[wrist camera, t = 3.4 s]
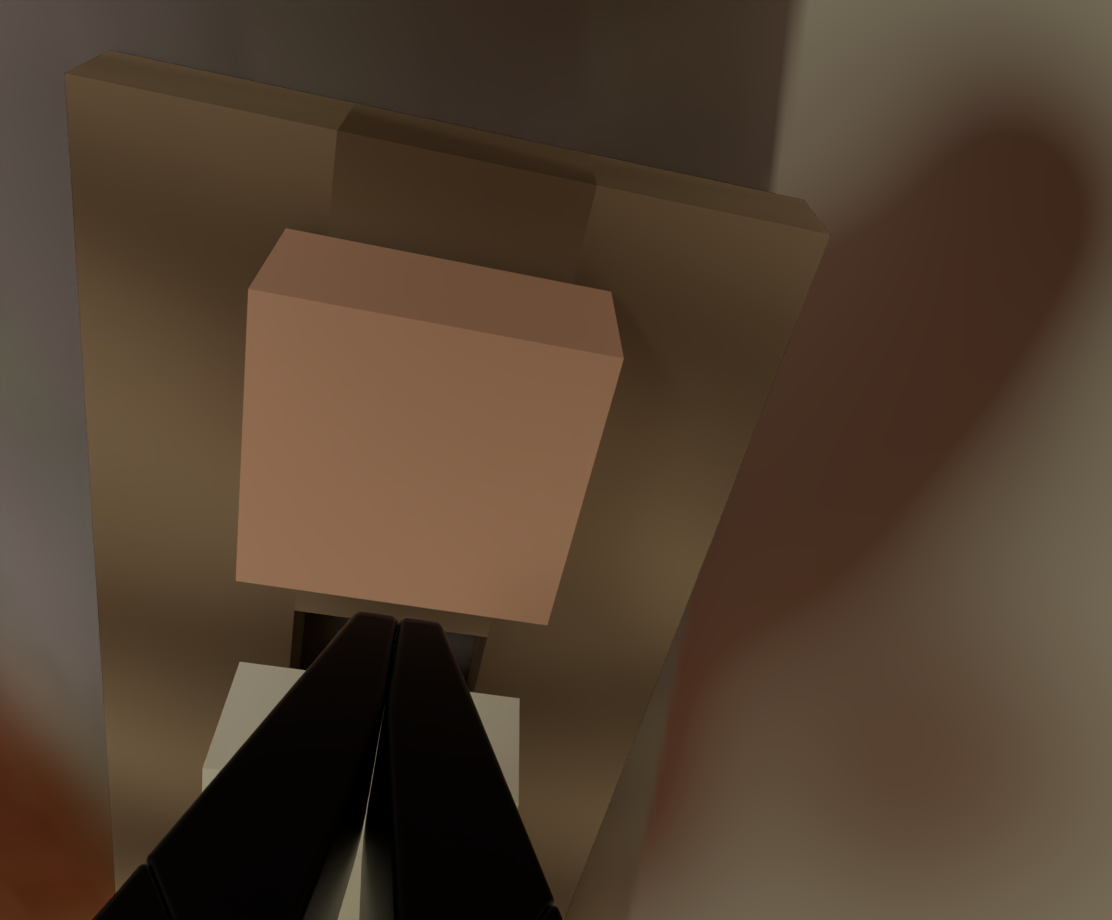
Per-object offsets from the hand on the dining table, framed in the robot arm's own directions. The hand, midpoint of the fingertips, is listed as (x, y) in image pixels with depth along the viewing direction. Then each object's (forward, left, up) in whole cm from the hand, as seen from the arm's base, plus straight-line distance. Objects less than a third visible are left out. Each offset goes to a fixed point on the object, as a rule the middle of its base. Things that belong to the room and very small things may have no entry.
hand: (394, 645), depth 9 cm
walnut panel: (-7, 0, -7) cm, 10 cm away
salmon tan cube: (0, 0, -7) cm, 7 cm away
